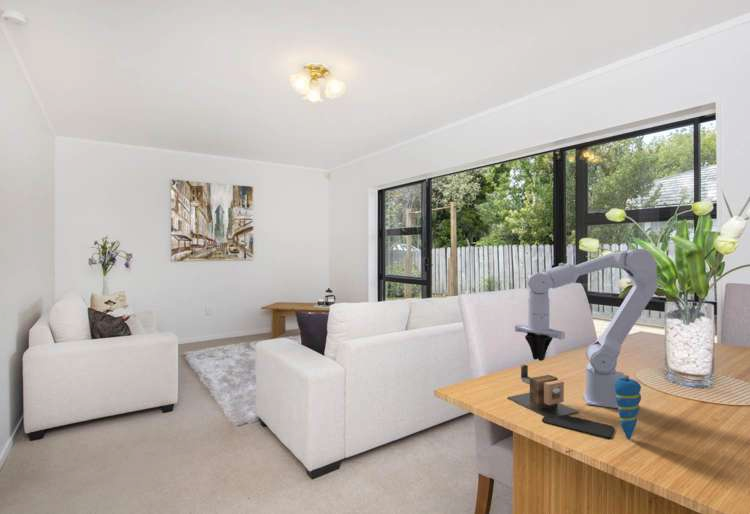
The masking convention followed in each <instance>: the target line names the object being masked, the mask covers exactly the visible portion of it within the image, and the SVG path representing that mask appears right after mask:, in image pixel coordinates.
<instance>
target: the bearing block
mask: <svg viewBox="0 0 750 514" xmlns="http://www.w3.org/2000/svg"><path fill="white" fill-rule="evenodd" d="M556 380H559V379H558V377H556V376H553V375H550V374H545V375H540V376H534V377H531V378H530V385H529V393H530V405H531V406H533V407H535V408H537V409H541V408H545V407H550V406H554V405H558V403H556V404H552V405H547V404H545V403H544V383H545V382H550V381H556ZM553 396H555V395H554V394H552V397H553Z"/></svg>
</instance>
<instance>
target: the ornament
mask: <svg viewBox="0 0 750 514" xmlns="http://www.w3.org/2000/svg"><path fill="white" fill-rule="evenodd" d="M614 389H615V392H616V394H617V396H616V402H617V404H618V406H619V408H617V412H618V414H619V423H620V426H621V429H622V432H623V433H624V434H625V437H626V439H628V440H630V439H631V438H632V436H633V433H634V431H635V428H636V425H637V422H638V414H639V411H640V405H639V404H640V403H641V401H642V395H641V393H640V392H641V389H642V385H641V383H639V382H638V381H637V380H635V379H632V378H630V375H629V374H624V378H619V379H617V380H616V382H615V385H614Z"/></svg>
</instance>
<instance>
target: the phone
mask: <svg viewBox="0 0 750 514" xmlns="http://www.w3.org/2000/svg"><path fill="white" fill-rule="evenodd" d="M541 422H542V423H544V424H546V425H549V426H554V427H557V428H560V429H561V428H562V429H565V430H566V429H567V430H570V431H574V432H577V433H581V434H585V435H589V436H594V437H597V438H600V439H606V440H611V439H612V437H613V434H614V432H615V427H614V425H610V424H607V423H602V422H597V421H593V420H588V419H585V418H582V417H581V418H580V417H575V416H572V415H569V416H568V415H563V416H559V417H555V418H549V417H547V416H542V419H541Z"/></svg>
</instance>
